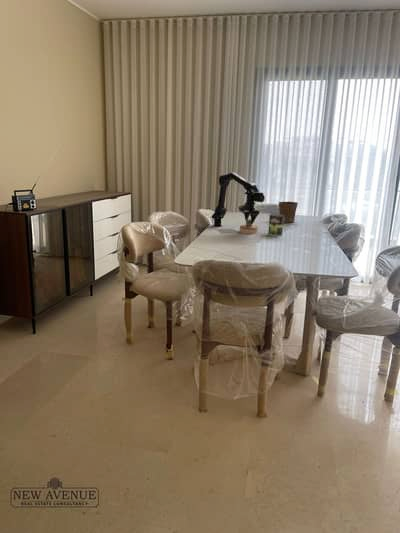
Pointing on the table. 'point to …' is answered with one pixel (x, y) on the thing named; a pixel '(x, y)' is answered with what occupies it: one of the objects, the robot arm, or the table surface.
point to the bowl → (249, 231)
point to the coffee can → (276, 224)
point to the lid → (248, 225)
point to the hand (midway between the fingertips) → (249, 222)
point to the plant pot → (288, 211)
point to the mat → (227, 230)
